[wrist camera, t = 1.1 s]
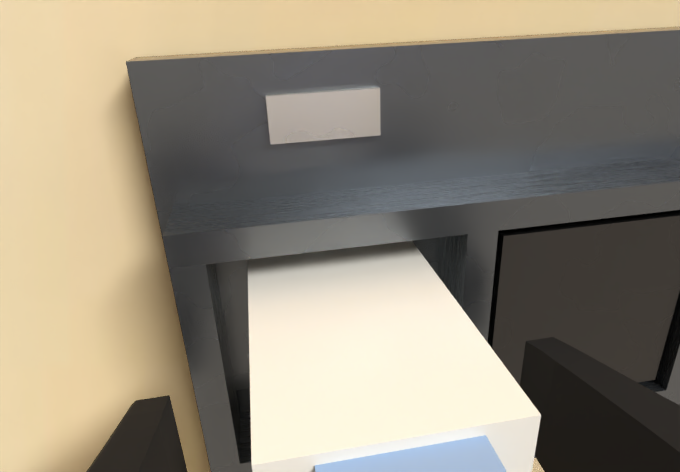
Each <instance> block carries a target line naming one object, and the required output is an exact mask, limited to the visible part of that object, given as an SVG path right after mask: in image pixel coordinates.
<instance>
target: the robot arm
mask: <svg viewBox="0 0 680 472" xmlns="http://www.w3.org/2000/svg"><path fill="white" fill-rule="evenodd" d="M520 387H521V388H522V390H523V391H524V392H525V394H526V395H527V397H528V398H529V399H530V401H531V402H532V403H533V405H534V406H535V407H536V409H537V410H538V411H539V413H540V414H541V419H540V425H539V431H538V437H537V443H536V449H535V456H536V458H537V460H538V462H539V463H540V465H541V466H542V468H543V470H544V471H545V472H680V405H678V404H676V403H675V402H673V401H671V400H669V399H667V398H665V397H663V396H661V395H659V394H658V393H656V392H654V391H652V390H650V389H648V388H646V387H645V386H643V385H641V384H639V383H637V382H635V381H634V380H632V379H630V378H628V377H626V376H625V375H623V374H621V373H619V372H617V371H616V370H614V369H612V368H610V367H608V366H607V365H605V364H603V363H601V362H599V361H598V360H596V359H594V358H592V357H590V356H589V355H587V354H585V353H583V352H581V351H579V350H578V349H576V348H574V347H572V346H570V345H568V344H566V343H564V342H562V341H560V340H558V339H556V338H554V337H549V338H542V339H536V340H529V341H526V343H525V350H524V358H523V365H522V372H521V380H520ZM87 472H187V469H186V464H185V460H184V456H183V452H182V447H181V443H180V439H179V435H178V430H177V426H176V422H175V418H174V413H173V409H172V405H171V401H170V396H163V397H157V398H150V399H144V400H137V401H135V402H134V403H133V404H132V405H131V407H130V408H129V410H128V411H127V413H126V414H125V416H124V417H123V419H122V420H121V422H120V423H119V425H118V426H117V428H116V429H115V431H114V432H113V434H112V435H111V437H110V438H109V440H108V441H107V443H106V444H105V446H104V447H103V449H102V450H101V452H100V453H99V454H98V456H97V457H96V459H95V460H94V462H93V463H92V465H91V466H90V467H89V469H88V470H87Z"/></svg>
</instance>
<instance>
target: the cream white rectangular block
mask: <svg viewBox="0 0 680 472" xmlns="http://www.w3.org/2000/svg"><path fill="white" fill-rule="evenodd" d="M247 263H248V313H249V364H250V414H251V464H252V471H253V472H532V468H533V461H534V455H535V449H536V443H537V437H538V431H539V425H540V419H541V414H540V413H539V411H538V410H537V409H536V407H535V406H534V405H533V403H532V402H531V401H530V399H529V398H528V397H527V395H526V394H525V392H524V391H523V390H522V388H521V387H520V386H519V384H518V383H517V382H516V380H515V379H514V378H513V376H512V375H511V374H510V372H509V371H508V370H507V368H506V367H505V366H504V364H503V363H502V361H501V360H500V359H499V357H498V356H497V355H496V353H495V352H494V351H493V349H492V348H491V347H490V345H489V344H488V343H487V341H486V340H485V339H484V337H483V336H482V335H481V333H480V332H479V331H478V329H477V328H476V326H475V325H474V324H473V322H472V321H471V320H470V318H469V317H468V316H467V314H466V313H465V312H464V310H463V309H462V308H461V306H460V305H459V304H458V302H457V301H456V300H455V298H454V297H453V296H452V294H451V293H450V291H449V290H448V289H447V287H446V286H445V285H444V283H443V282H442V281H441V279H440V278H439V277H438V275H437V274H436V273H435V271H434V270H433V269H432V267H431V266H430V265H429V263H428V262H427V260H426V259H425V258H424V256H423V255H422V254H421V252H420V251H419V250H418V248H417V247H416V246H415V244H414V243H413V242H412V241H405V242H396V243H387V244H379V245H370V246H361V247H353V248H344V249H335V250H327V251H318V252H309V253H301V254H292V255H283V256H275V257H266V258H257V259H249V260H247Z"/></svg>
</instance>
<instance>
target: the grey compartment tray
mask: <svg viewBox="0 0 680 472" xmlns="http://www.w3.org/2000/svg"><path fill="white" fill-rule="evenodd" d="M126 65H127V69H128V74H129V79H130V84H131V89H132V93H133V98H134V103H135V108H136V113H137V118H138V122H139V127H140V132H141V137H142V142H143V146H144V151H145V156H146V161H147V166H148V171H149V175H150V180H151V185H152V190H153V195H154V199H155V204H156V209H157V214H158V219H159V224H160V228H161V233H162V238H163V243H164V248H165V252H166V257H167V262H168V267H169V272H170V276H171V281H172V286H173V291H174V296H175V301H176V305H177V310H178V315H179V320H180V325H181V329H182V334H183V339H184V344H185V349H186V354H187V358H188V363H189V368H190V373H191V378H192V382H193V387H194V392H195V397H196V402H197V407H198V411H199V416H200V421H201V426H202V431H203V435H204V440H205V445H206V450H207V455H208V460H209V464H210V469H211V472H253V471H252V464H251V414H250V364H249V313H248V263H247V260H249V259H257V258H266V257H275V256H283V255H292V254H301V253H309V252H318V251H327V250H335V249H344V248H353V247H361V246H370V245H379V244H387V243H396V242H405V241H412V242H413V243H414V244H415V246H416V247H417V248H418V250H419V251H420V252H421V254H422V255H423V256H424V258H425V259H426V260H427V262H428V263H429V265H430V266H431V267H432V269H433V270H434V271H435V273H436V274H437V275H438V277H439V278H440V279H441V281H442V282H443V283H444V285H445V286H446V287H447V289H448V290H449V291H450V293H451V294H452V296H453V297H454V298H455V300H456V301H457V302H458V304H459V305H460V306H461V308H462V309H463V310H464V312H465V313H466V314H467V316H468V317H469V318H470V320H471V321H472V322H473V324H474V325H475V326H476V328H477V329H478V331H479V332H480V333H481V335H482V336H483V337H484V339H485V340H486V341H487V343H488V344H489V345H490V347H491V348H492V349H493V351H494V352H495V353H496V355H497V356H498V357H499V359H500V360H501V361H502V363H503V364H504V366H505V367H506V368H507V370H508V371H509V372H510V374H511V375H512V376H513V378H514V379H515V380H516V382H517V383H518V384H519V386H520V380H521V372H522V365H523V358H524V350H525V343H526V341H529V340H536V339H542V338H549V337H554V338H556V339H558V340H560V341H562V342H564V343H566V344H568V345H570V346H572V347H574V348H576V349H578V350H579V351H581V352H583V353H585V354H587V355H589V356H590V357H592V358H594V359H596V360H598V361H599V362H601V363H603V364H605V365H607V366H608V367H610V368H612V369H614V370H616V371H617V372H619V373H621V374H623V375H625V376H626V377H628V378H630V379H632V380H634V381H635V382H637V383H639V384H641V385H643V386H645V387H646V388H648V389H650V390H652V391H654V392H656V393H658V394H659V395H661V396H663V397H665V398H667V399H669V400H671V401H673V402H675V403H676V404H678V405H680V27H667V28H650V29H632V30H614V31H597V32H579V33H561V34H543V35H526V36H508V37H490V38H472V39H455V40H437V41H419V42H402V43H384V44H366V45H348V46H331V47H313V48H295V49H277V50H260V51H242V52H224V53H207V54H189V55H171V56H153V57H136V58H133V59H131V60H129V61H126ZM534 458H536V456H535V455H534Z"/></svg>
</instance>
